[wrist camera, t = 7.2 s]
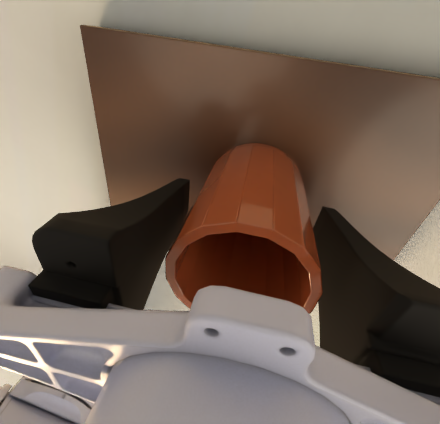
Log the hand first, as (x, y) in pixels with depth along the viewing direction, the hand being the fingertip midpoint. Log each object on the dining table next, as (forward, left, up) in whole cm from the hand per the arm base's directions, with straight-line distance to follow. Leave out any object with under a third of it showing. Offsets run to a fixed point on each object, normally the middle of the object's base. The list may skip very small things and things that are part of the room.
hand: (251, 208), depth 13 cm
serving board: (0, 0, -4) cm, 4 cm away
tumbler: (0, 0, -2) cm, 2 cm away
